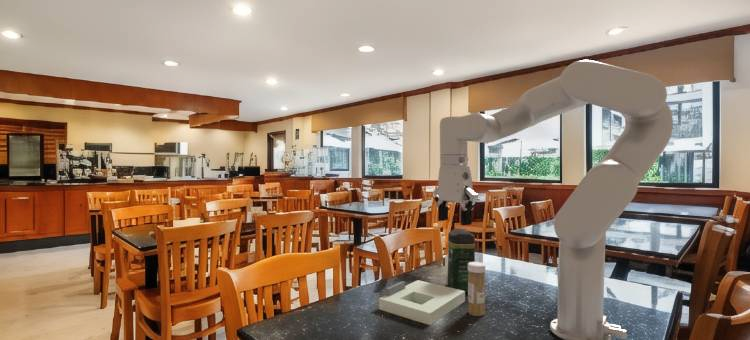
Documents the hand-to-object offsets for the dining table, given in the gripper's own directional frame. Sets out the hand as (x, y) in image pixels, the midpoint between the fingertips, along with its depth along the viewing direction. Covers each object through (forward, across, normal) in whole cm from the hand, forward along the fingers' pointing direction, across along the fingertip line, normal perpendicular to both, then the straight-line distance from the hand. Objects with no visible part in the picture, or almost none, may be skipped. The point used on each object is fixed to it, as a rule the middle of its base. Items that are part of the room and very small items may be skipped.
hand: (454, 222), depth 106 cm
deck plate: (+23, +4, +8) cm, 25 cm away
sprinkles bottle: (+24, -7, -1) cm, 25 cm away
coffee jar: (+24, +10, -11) cm, 28 cm away
